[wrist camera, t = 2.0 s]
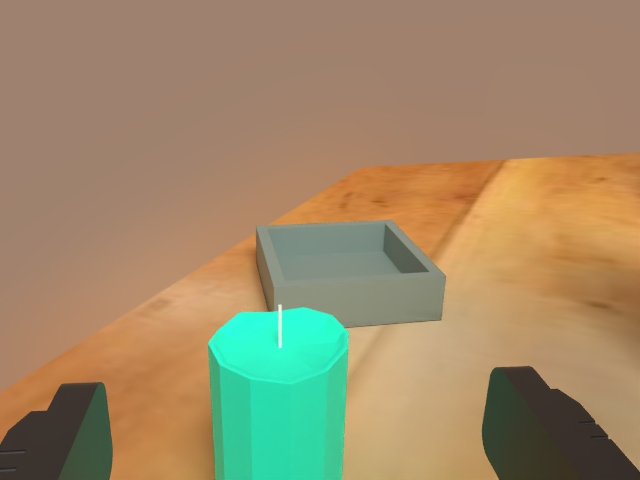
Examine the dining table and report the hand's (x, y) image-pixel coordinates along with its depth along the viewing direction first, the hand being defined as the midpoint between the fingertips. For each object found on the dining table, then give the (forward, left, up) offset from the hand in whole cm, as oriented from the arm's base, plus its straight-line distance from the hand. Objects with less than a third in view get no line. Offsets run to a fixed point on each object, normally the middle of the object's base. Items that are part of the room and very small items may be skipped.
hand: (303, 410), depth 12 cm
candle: (-1, -11, -16) cm, 19 cm away
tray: (-10, -36, -15) cm, 41 cm away
